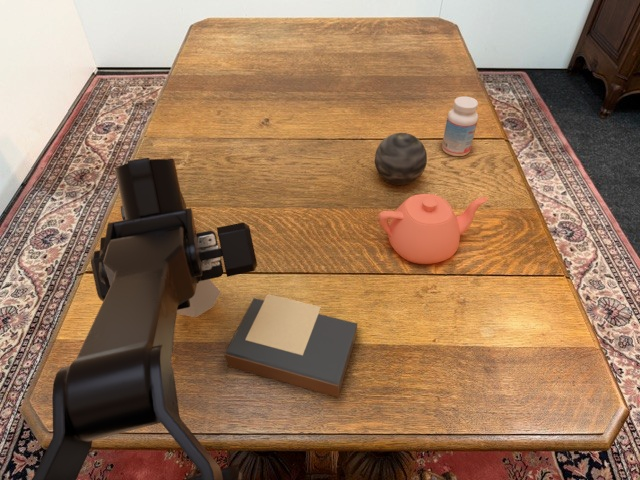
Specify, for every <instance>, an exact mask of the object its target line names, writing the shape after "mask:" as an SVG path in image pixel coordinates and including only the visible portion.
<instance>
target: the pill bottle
mask: <svg viewBox="0 0 640 480" xmlns="http://www.w3.org/2000/svg"><path fill="white" fill-rule="evenodd" d="M478 106H479V102H478V100H477V99H475V98H474V97H471V96H465V95H464V96H463V95H462V96H457V97H456V98H455V99H454V101H453V106H452V108H451V109H450V110H449V111H448V113H447V118H446V122H445V123H446V124H445V128H444V131H443V132H444V133H443V137H442V143H441V149H442V150H443V152H444V153H446V154H447V155H449V156H453V157H463V156H467V155H468V154H469V153H470V152H471V150H472V145H473V142H474V138H475V134H476V130H477V125H478V122H479V114H478V112H477V110H478Z"/></svg>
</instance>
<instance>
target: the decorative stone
mask: <svg viewBox="0 0 640 480" xmlns="http://www.w3.org/2000/svg"><path fill="white" fill-rule="evenodd" d="M427 162H428V155H427V150H426V147H425V145H424V144H423V142H422V141H421V140H420V139H419V138H418V137H416V136H415V135H413V134H411V133H408V132H396V133H393V134H390V135H388V136H386V137H385V138H383V140H381V142H380V143H379V145H378V146H377V148H376V150H375V154H374V167H375V168H376V171H377V173H378V175H379V176H380V177H381V178H382V179H383V180H384V181H385V182H387V183H388V184H392V185H395V186H405V185H408V184H411V183H413V182H415V181H416V180H418V179H419V178H420V177H421V175H422V174H423V173H424V171H425V169H426V168H427Z"/></svg>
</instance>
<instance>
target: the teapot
mask: <svg viewBox="0 0 640 480" xmlns="http://www.w3.org/2000/svg"><path fill="white" fill-rule="evenodd" d="M487 201H489V198H488V197H486V196H482V197H479V198H476V199H474V200H473V201H471V202H470V203H469V205H468V206H467V207H466V208H465V210H464V211H463V212H462V213H461V214H459V215H457V216H456V214H455V212H454V210H453V208H452V206H451V205H450V203H449V202H448V201H447V200H446V199H444V197H442V196H440V195H437V194H433V193H420V194H415V195H412V196H410V197H408V198H407V199H405V200H404V201H403V202H402V203H401V204H400V205H399V206H398V207H397V208H396V210H383V211H379V213H378V215H377V216H378V217H377V219H378V222H379V225H380V227H382V229H383V230H384V232H385V233H386V234H387V237H388V241H389V243H390V245H391V247H392V248H393V250H394V251H395V252H396V253H397V254H398V256H400V257H401V258H403V259H405V261H408V262H410V263H412V264H418V265H431V264H435V263H437V264H438V263H440V262H444V261H446V260H448V259H450V258H451V257H453V255H454V254H455V253H456V252H457V250H458V249H459V245H460V239H461V238H460V237H461V235H463V234H464V233H466V232H467V231H468V230H469V229H470V227H471V226H472V223H473V220H474V218H475V215H476V212H477V210H479V208H480V206H482V205H484V204H485V203H486V202H487ZM389 219H390V220H389ZM388 220H389V222H388Z"/></svg>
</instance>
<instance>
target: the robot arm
mask: <svg viewBox="0 0 640 480" xmlns="http://www.w3.org/2000/svg"><path fill="white" fill-rule="evenodd" d="M114 171H115V176H116V180H117V186H118V190H119V194H120V200H121V206H120V213H121V219H122V220H118V221H113V222H107V224H106V232H105V236H103V237H100V245H99V250H94V252H93V253H92V255H91V257H90V266H91V270H92V275H93V280H94V284H95V285H94V286H95V289H96V294H97V297H98V298H99V300H100V301H102V303H101V305H100V307H99V310H98V311H97V314H96V316H95V318H94V321H93V322H92V324H91V327H90V328H89V331H88V332H87V335H86V337H85V339H84V340H83V341H84V342H83V344H82V346H81V348H80V350H79V352H78V354H77V356H76V358H75V359H74V360H73V361H72V362H71V363H70V365H69V366H65V367H61V368H60V369H59V370H58V371H57V372H56V375H55V378H54V381H53V385H52V386H53V387H52V396H51V397H52V398H51V399H52V401H51V402H52V437H51V439H50V442H49V443H48V445H47V448H46V450H45V452H44V454H43V456H42V458H41V460H40V462H39V464H38V466H37V468H36V470H35V472H34V475H33V476H32V478H31V480H77V479H78V477H79V474H80V473H81V471H82V468H83V466H84V464H85V462H86V459H87V457H88V455H89V453H90V451H91V449H92V445H93V441H96V440H100V439H103V438H107V437H111V436H115V435H118V434H123V433H127V432H130V431H134V430H139V429H142V428H145V427H149V426H153V425H157V424H161V425H162V426H163V427H164V428H165V430H166V431H167V432H168V433H169V435H170V436H171V437H172V438H173V439H174V441H175V442H176V443H177V445H178V446H179V447H180V449H181V450H182V451H183V452H184V453H185V455H186V456H187V457H188V458H189V460H190V461H191V462H192V464H193V465H194V466H195V467H196V468H197V470H198V471H199V472H200V474H197V475H194V476H191V477H188V478H183V479H182V480H245V476H244V473H243V472H242V471H240V466H239V464H238V463H237V464H233V465H230V466H226V467H222V468H220V465H219V463H218V462H217V461H216V460H215V458H213V457H212V455H211V454H210V452H209V451H208V450H207V449H206V448H205V446H204V445H203V444H202V443H201V442H200V440H199V439H198V438H197V437H196V436H195V434H194V433H193V432H192V431H191V430H190V428H189V427H188V426H187V425H186V424H185V422H184V421H183V420H182V418H181V417H180V408H179V403H178V402H179V401H178V392H177V386H176V385H177V384H176V379H175V373H174V368H173V364H172V357H173V349H174V341H175V340H174V339H175V332H176V331H175V330H176V322H177V315H178V314H177V310H180V309H184V308H189V307H190V300H189V299H190V298H192V297H193V296H194V294H195V291H196V287H197V283H199V281H203V280H208V279H210V280H212V279H216V278H217V279H218V278H221V277H222V276H223V275H224V270H225V274H226V277H234V276H239V275H244V274H247V273H252V272H254V271H255V270H256V268H257V267H258V261H257V257H256V252H255V247H254V243H253V242H254V241H253V239H252V238H253V237H252V233H251V229H250V225H248V224H247V223H245V222H243V221H242V222H239V223H233V224H228V225H223V226H217V227H216V231H217V235H216V233H215V232H214V231H213V230H206V231H202V232H197V229H196V228H197V227H196V223H195V219H194V214H193V213H194V212H193V210H192V208H191V207H188V208H187V204H186V201H185V198H184V196H183V194H182V191H181V185H180V181H179V177H178V171H177V167H176V161H175V159H174V158H151V159H150V157H143V158H137V159H131V160H128V161H127V163H124V164H122V165H118V166H117V167H115V168H114ZM217 236H218V237H217ZM217 238H218V239H217ZM218 241H219V243H218ZM222 260H223V264H222ZM223 265H224V267H223Z"/></svg>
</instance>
